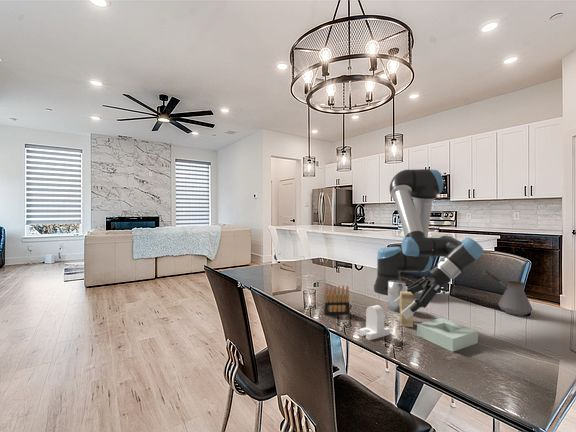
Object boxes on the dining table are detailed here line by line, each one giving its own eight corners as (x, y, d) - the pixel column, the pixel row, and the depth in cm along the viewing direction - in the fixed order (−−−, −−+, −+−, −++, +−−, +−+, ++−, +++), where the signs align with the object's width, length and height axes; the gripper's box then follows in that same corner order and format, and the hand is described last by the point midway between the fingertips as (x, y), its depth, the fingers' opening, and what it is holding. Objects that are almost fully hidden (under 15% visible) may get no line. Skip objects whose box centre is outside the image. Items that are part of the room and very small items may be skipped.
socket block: (441, 328, 107) (441, 317, 107) (477, 343, 95) (478, 331, 95) (416, 335, 101) (417, 324, 101) (452, 351, 90) (452, 339, 90)
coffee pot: (539, 316, 119) (540, 280, 119) (516, 318, 117) (517, 281, 117) (493, 300, 140) (494, 269, 140) (473, 301, 138) (473, 270, 138)
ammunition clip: (348, 312, 123) (348, 284, 123) (349, 314, 121) (350, 285, 121) (323, 313, 123) (323, 285, 122) (324, 314, 121) (324, 286, 120)
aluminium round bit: (395, 305, 133) (396, 279, 132) (408, 310, 126) (409, 282, 126) (384, 307, 129) (384, 281, 129) (396, 313, 123) (397, 284, 123)
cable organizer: (390, 334, 102) (390, 306, 102) (369, 340, 97) (369, 310, 97) (379, 328, 107) (379, 301, 107) (358, 334, 102) (358, 306, 102)
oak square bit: (399, 322, 113) (400, 291, 113) (410, 322, 112) (411, 292, 112) (401, 326, 109) (402, 294, 109) (412, 326, 108) (413, 295, 108)
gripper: (426, 259, 121) (388, 293, 124) (447, 271, 96) (398, 313, 99) (440, 272, 120) (401, 306, 123) (464, 288, 95) (415, 330, 98)
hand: (400, 309), depth 111 cm, fingers open, 13 cm apart
